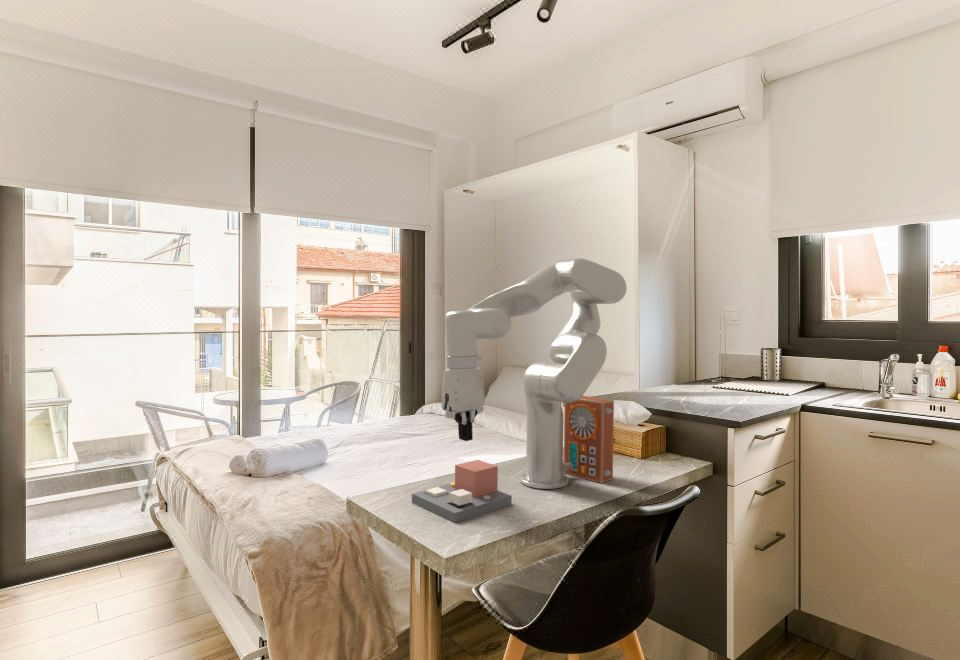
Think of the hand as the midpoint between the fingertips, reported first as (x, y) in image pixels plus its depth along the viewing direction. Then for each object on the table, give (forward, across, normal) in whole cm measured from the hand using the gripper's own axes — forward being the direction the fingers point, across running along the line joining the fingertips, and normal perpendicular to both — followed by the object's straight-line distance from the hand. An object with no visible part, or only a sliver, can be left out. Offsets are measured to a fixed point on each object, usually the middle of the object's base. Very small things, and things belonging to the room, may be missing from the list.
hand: (465, 439), depth 130 cm
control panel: (+16, -36, +7) cm, 41 cm away
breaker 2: (+12, +7, +6) cm, 15 cm away
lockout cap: (+12, -2, +1) cm, 13 cm away
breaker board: (+14, +3, +2) cm, 15 cm away
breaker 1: (+13, +7, -3) cm, 15 cm away
